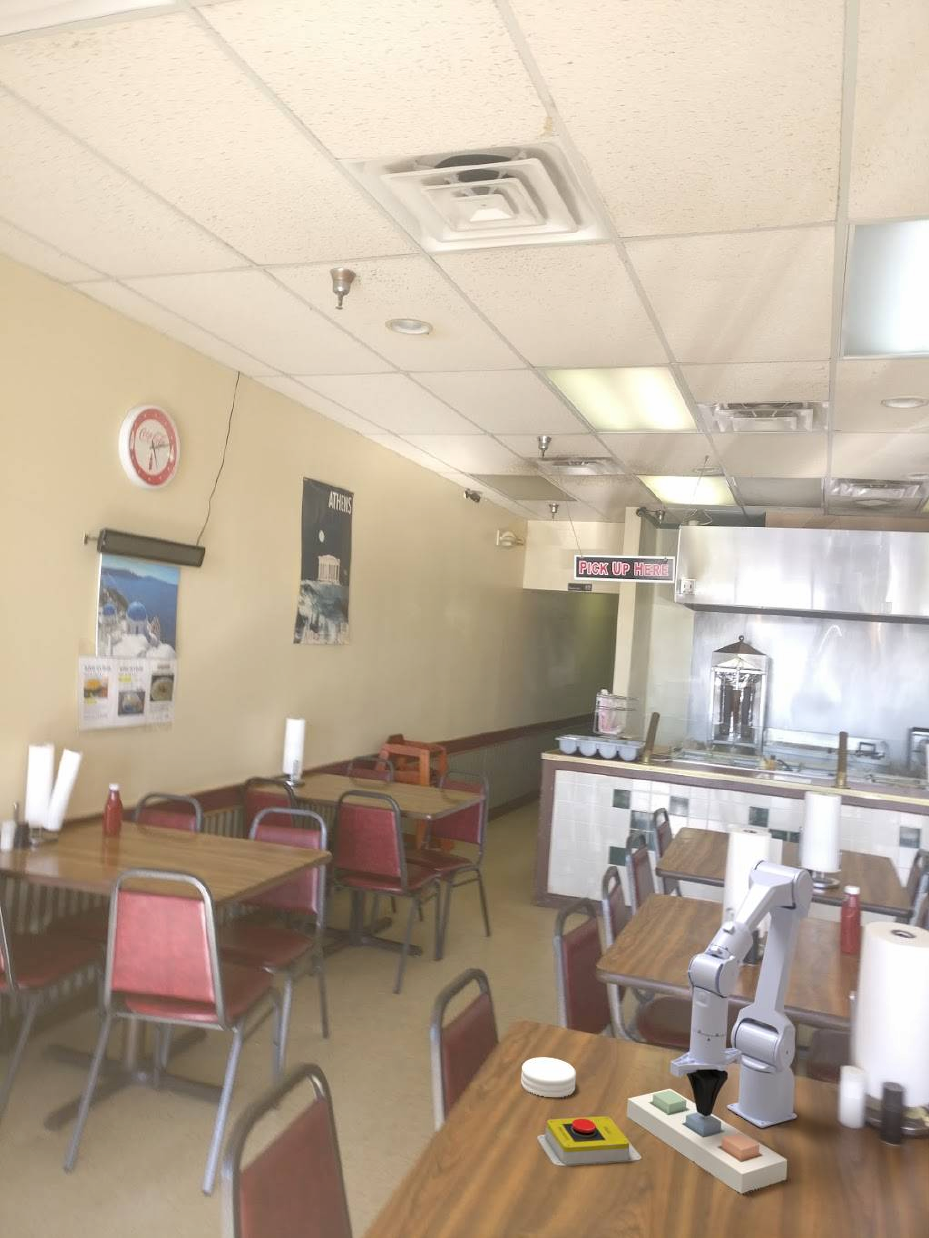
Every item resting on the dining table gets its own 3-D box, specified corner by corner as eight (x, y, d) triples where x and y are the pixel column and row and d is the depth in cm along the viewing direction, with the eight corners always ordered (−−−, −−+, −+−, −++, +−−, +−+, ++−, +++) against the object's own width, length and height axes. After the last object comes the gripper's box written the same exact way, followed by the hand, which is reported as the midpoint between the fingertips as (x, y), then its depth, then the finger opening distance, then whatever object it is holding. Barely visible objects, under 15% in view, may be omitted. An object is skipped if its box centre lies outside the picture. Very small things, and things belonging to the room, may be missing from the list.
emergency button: (536, 1111, 155) (620, 1107, 159) (535, 1139, 155) (619, 1133, 159) (556, 1141, 146) (645, 1135, 150) (554, 1169, 146) (643, 1163, 150)
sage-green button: (669, 1107, 165) (670, 1090, 165) (685, 1117, 162) (686, 1100, 162) (651, 1111, 163) (652, 1094, 163) (668, 1122, 160) (669, 1104, 160)
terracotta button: (738, 1151, 152) (739, 1132, 152) (758, 1164, 148) (759, 1144, 148) (721, 1157, 150) (722, 1137, 150) (740, 1169, 146) (741, 1150, 146)
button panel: (669, 1105, 169) (670, 1088, 170) (786, 1179, 147) (787, 1159, 147) (626, 1116, 164) (627, 1098, 164) (741, 1194, 142) (742, 1173, 142)
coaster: (515, 1092, 171) (516, 1073, 171) (527, 1070, 180) (528, 1052, 180) (569, 1104, 168) (570, 1084, 168) (579, 1081, 177) (580, 1062, 177)
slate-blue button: (702, 1128, 159) (703, 1110, 159) (720, 1139, 155) (721, 1121, 155) (685, 1133, 156) (686, 1115, 157) (702, 1145, 153) (703, 1126, 153)
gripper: (694, 1045, 149) (689, 1132, 149) (758, 1032, 157) (753, 1115, 156) (663, 1028, 155) (658, 1112, 155) (726, 1016, 163) (721, 1097, 162)
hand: (703, 1112), depth 156 cm, fingers closed
